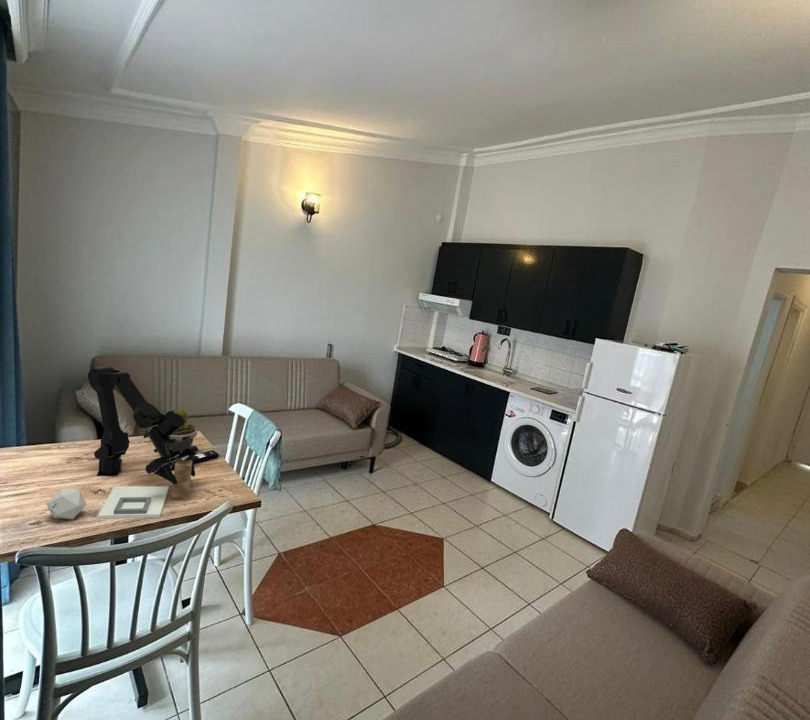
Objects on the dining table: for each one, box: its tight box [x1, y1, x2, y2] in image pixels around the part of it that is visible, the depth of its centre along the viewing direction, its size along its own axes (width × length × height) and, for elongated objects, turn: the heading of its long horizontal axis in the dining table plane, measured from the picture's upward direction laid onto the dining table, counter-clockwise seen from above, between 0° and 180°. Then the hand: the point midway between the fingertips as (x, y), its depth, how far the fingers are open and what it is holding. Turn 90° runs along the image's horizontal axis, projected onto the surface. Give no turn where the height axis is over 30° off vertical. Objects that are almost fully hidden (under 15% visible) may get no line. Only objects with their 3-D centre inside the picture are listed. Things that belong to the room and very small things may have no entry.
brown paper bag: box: [171, 459, 192, 501], centre depth 159 cm, size 5×5×12 cm
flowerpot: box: [170, 406, 198, 453], centre depth 193 cm, size 14×15×20 cm
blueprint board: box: [96, 485, 170, 520], centre depth 152 cm, size 17×20×2 cm
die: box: [46, 488, 87, 520], centre depth 138 cm, size 8×9×10 cm
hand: (185, 479), depth 159 cm, fingers open, 8 cm apart
